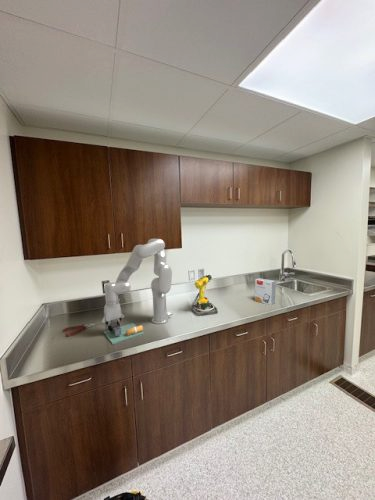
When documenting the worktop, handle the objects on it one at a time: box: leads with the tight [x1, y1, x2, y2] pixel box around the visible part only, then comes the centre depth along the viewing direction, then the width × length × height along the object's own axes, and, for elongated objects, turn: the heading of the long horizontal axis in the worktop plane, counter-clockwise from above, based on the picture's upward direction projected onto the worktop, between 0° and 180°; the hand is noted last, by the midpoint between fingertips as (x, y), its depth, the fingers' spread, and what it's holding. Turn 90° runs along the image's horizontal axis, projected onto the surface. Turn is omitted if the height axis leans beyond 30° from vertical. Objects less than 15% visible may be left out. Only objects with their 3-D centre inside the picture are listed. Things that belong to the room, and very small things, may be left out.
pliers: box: [62, 322, 97, 338], centre depth 145 cm, size 12×20×3 cm, turn 133°
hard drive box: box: [254, 277, 276, 306], centre depth 184 cm, size 16×8×20 cm, turn 42°
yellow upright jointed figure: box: [191, 274, 219, 316], centre depth 169 cm, size 18×19×28 cm
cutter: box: [110, 320, 121, 336], centre depth 134 cm, size 4×13×4 cm, turn 36°
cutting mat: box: [103, 322, 145, 345], centre depth 136 cm, size 20×19×5 cm
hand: (114, 329), depth 137 cm, fingers closed on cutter, 4 cm apart
